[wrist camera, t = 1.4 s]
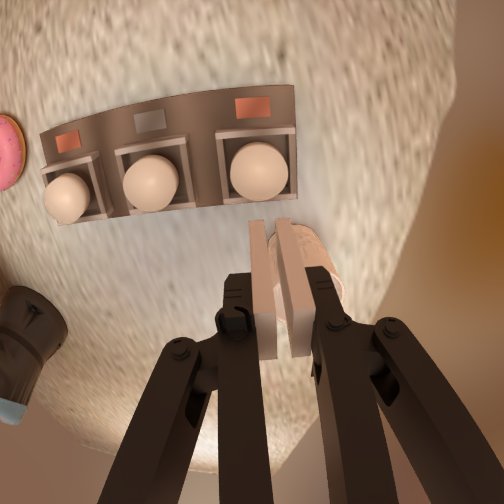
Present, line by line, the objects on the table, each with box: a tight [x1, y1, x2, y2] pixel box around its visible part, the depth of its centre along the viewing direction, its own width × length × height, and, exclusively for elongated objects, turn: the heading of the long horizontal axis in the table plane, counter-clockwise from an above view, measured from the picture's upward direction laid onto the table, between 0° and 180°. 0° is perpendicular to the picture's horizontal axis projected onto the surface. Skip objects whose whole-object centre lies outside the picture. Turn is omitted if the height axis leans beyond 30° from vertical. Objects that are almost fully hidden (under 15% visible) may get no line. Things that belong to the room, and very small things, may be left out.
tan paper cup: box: [268, 225, 344, 324], centre depth 34 cm, size 8×8×10 cm
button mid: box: [123, 155, 179, 212], centre depth 26 cm, size 5×5×2 cm
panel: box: [40, 85, 297, 226], centre depth 28 cm, size 28×12×5 cm, turn 94°
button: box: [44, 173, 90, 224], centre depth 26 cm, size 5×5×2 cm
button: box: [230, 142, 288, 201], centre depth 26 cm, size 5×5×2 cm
